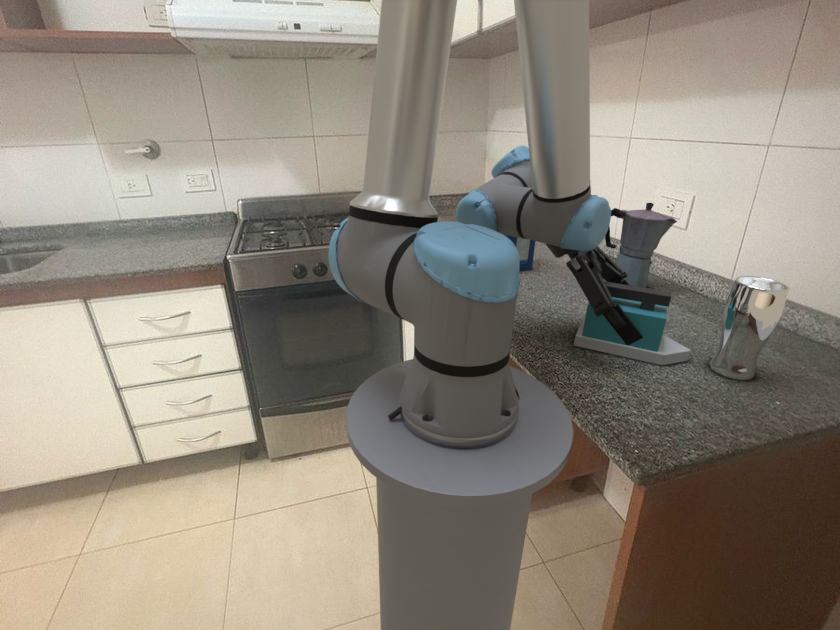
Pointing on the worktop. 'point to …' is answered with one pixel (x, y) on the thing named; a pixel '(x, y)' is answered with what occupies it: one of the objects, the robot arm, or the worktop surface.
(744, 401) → the worktop surface
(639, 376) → the worktop surface
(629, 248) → the moka pot
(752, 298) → the beer glass
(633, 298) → the teal slab with bar
